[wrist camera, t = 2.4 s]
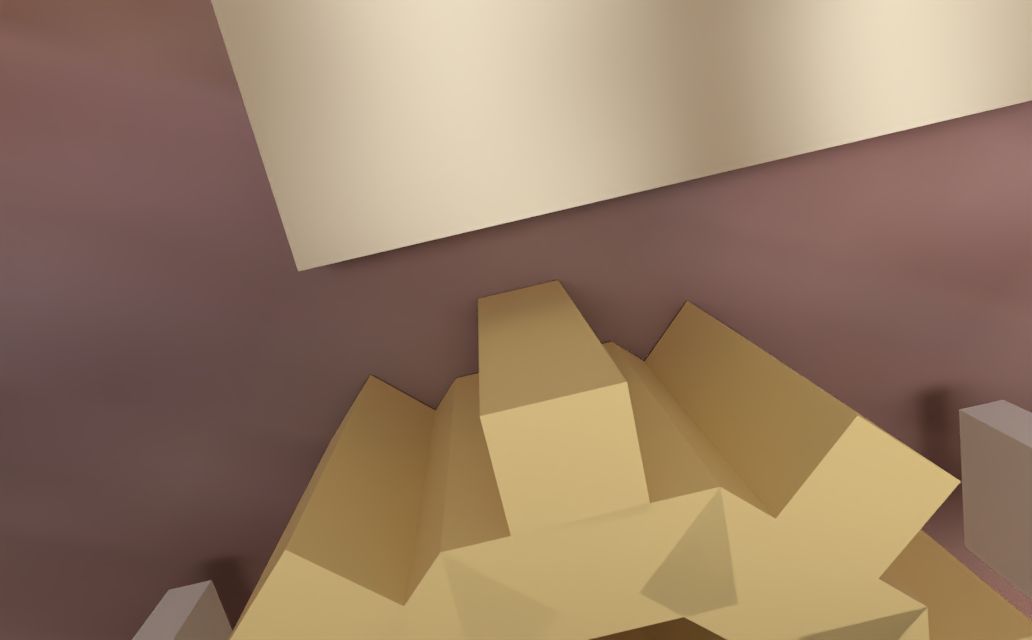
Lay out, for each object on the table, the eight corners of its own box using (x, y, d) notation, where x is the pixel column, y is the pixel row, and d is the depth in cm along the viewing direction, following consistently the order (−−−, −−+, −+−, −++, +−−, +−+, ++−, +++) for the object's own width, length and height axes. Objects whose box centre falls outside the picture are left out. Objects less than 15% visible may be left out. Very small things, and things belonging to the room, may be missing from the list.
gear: (397, 769, 13) (350, 1130, 8) (248, 352, 11) (57, 515, 6) (834, 665, 13) (1045, 964, 8) (786, 226, 11) (1046, 283, 6)
